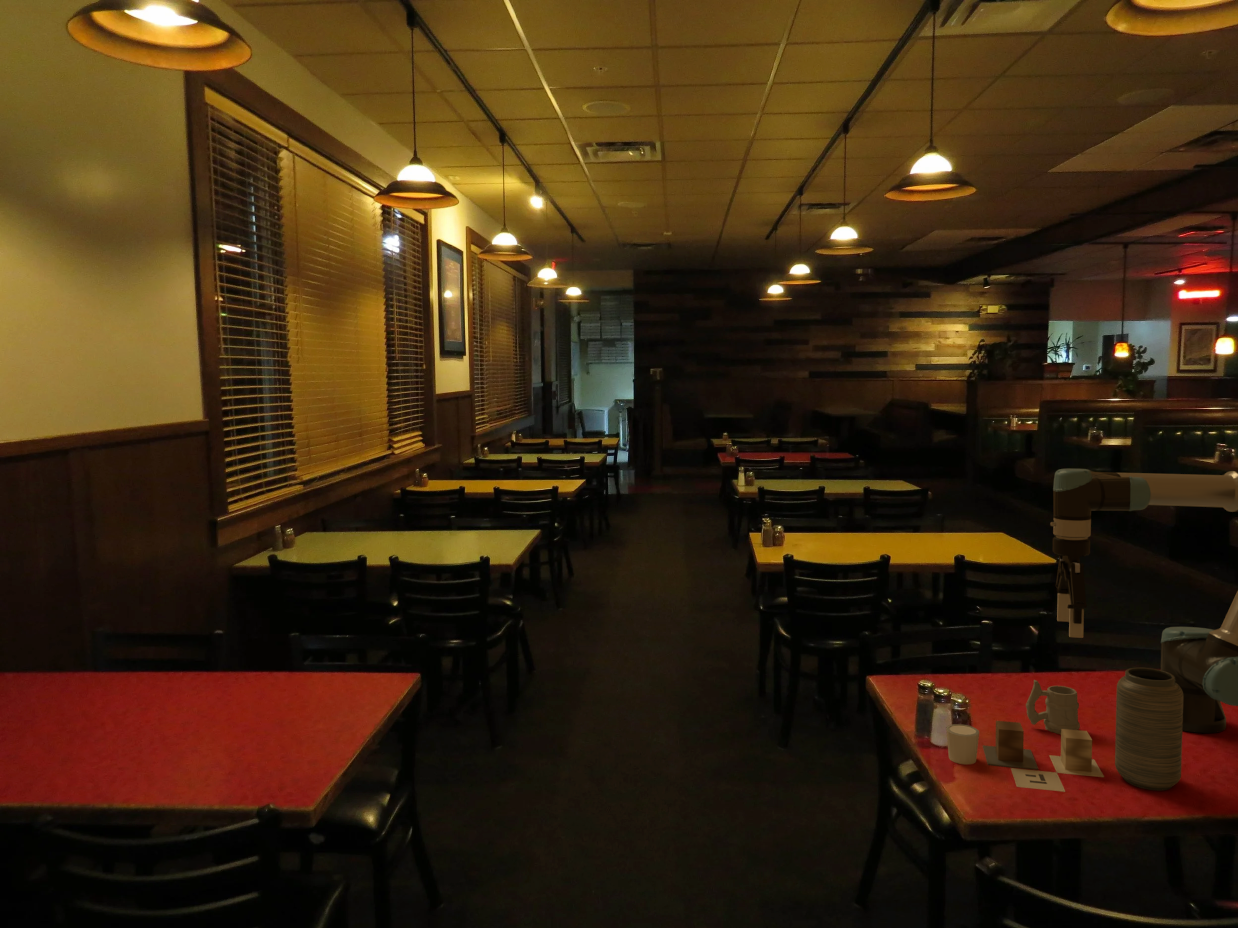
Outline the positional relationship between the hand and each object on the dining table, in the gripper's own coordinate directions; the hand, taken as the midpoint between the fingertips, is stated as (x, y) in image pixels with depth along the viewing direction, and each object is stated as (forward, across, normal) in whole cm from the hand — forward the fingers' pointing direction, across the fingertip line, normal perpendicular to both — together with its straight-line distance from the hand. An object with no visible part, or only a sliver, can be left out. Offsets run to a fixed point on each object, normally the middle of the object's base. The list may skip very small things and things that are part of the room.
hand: (1069, 628), depth 195 cm
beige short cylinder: (+27, +16, -24) cm, 39 cm away
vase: (+27, +18, +12) cm, 34 cm away
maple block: (+26, +14, -1) cm, 30 cm away
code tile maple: (+27, +14, -1) cm, 30 cm away
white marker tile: (+27, +23, -10) cm, 37 cm away
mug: (+27, -7, -2) cm, 28 cm away
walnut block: (+26, +13, -14) cm, 32 cm away
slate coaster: (+27, +13, -14) cm, 33 cm away
